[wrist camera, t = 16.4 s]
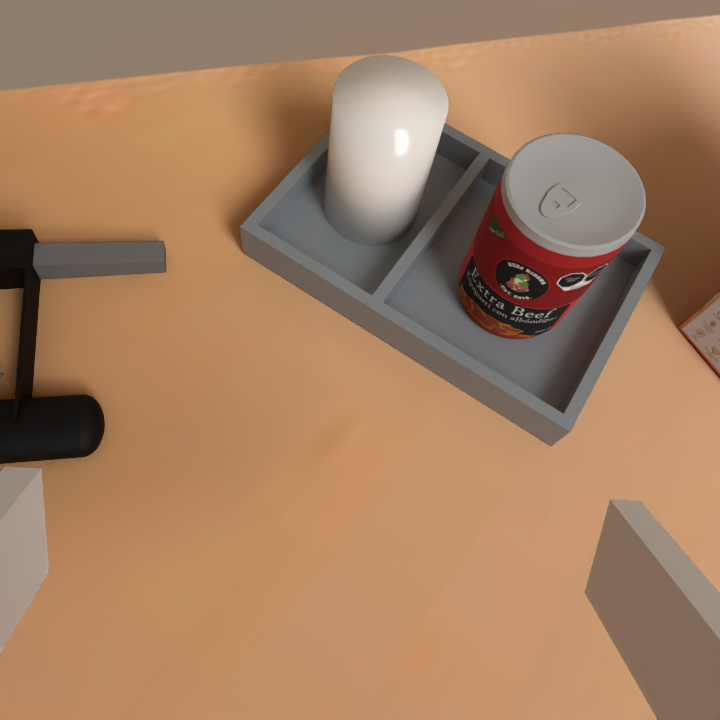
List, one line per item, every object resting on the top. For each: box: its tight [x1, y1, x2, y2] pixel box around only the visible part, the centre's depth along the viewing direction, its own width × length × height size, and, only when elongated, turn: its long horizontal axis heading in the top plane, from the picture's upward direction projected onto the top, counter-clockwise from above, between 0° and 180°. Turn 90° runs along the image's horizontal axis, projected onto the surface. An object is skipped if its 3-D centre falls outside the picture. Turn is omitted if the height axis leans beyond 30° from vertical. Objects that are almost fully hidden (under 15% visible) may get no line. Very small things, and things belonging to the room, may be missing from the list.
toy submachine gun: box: [0, 229, 166, 464], centre depth 40 cm, size 3×20×16 cm
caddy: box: [240, 123, 666, 446], centre depth 44 cm, size 24×16×3 cm, turn 57°
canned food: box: [458, 133, 646, 339], centre depth 39 cm, size 8×8×11 cm
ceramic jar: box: [324, 55, 449, 246], centre depth 41 cm, size 7×7×10 cm
